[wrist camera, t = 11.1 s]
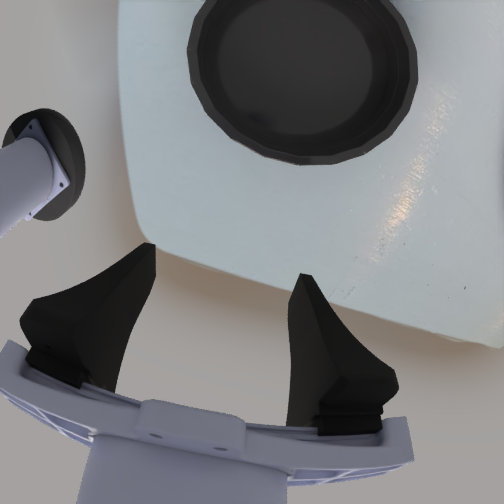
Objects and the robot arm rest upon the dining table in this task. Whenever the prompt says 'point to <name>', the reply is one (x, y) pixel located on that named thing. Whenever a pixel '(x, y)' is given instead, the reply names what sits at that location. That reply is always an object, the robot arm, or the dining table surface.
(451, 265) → the dining table surface
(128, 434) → the robot arm
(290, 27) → the pan
